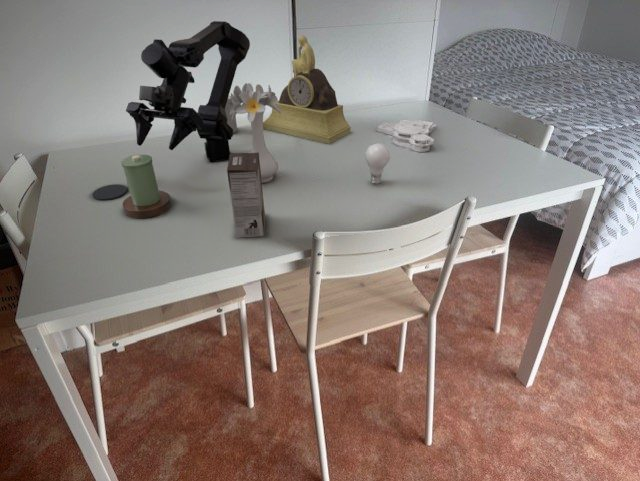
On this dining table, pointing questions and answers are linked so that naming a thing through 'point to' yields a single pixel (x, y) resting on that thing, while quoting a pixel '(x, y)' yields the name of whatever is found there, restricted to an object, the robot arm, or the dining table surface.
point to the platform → (147, 207)
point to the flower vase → (256, 122)
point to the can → (230, 116)
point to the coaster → (109, 192)
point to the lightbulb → (377, 160)
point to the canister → (141, 179)
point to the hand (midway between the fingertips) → (154, 147)
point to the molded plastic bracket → (410, 134)
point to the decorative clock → (308, 103)
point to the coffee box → (246, 194)
